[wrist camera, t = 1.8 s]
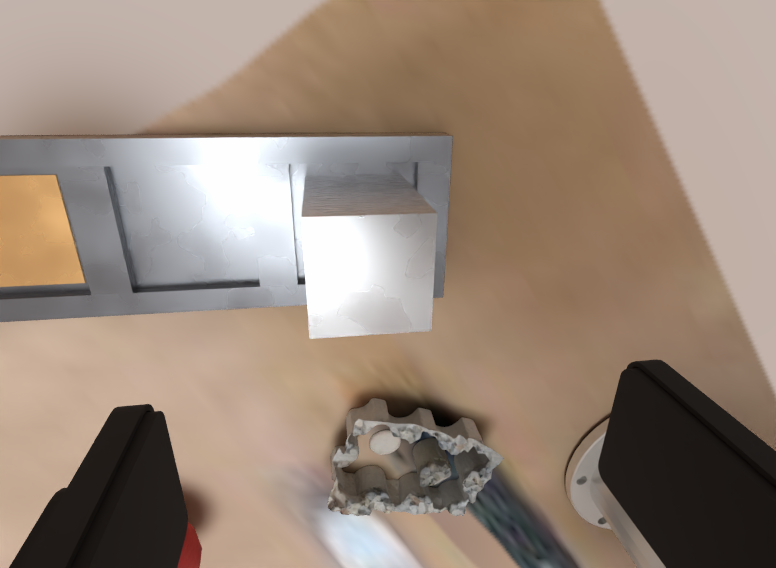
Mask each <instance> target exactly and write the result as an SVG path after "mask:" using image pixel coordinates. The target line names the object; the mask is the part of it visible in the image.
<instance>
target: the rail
mask: <svg viewBox="0 0 776 568" xmlns="http://www.w3.org/2000/svg"><path fill="white" fill-rule="evenodd" d="M452 142H453V136H452V135H449V134H447V133H314V134H164V135H25V136H24V135H21V136H19V135H18V136H0V322H10V321H28V320H46V319H64V318H82V317H100V316H118V315H135V314H153V313H171V312H189V311H207V310H225V309H243V308H261V307H279V306H297V305H307V295H306V280H305V266H304V251H303V236H302V222H301V214H302V204H303V194H304V183H305V176H343V175H396V174H401V175H402V176H403V177H404V178H405V179H406V180H407V181H408V182H409V183H410V185H411V186H412V187H413V188H414V189H415V190H416V191H417V192H418V193H419V194H420V195H421V196H422V197H423V198H424V199H425V201H426V202H427V203H428V204H429V205H430V206H431V207H432V208H433V209H434V210H435V211H436V212H437V230H436V250H435V270H434V289H433V298H440V297H443V291H444V274H445V258H446V241H447V225H448V208H449V192H450V175H451V158H452Z"/></svg>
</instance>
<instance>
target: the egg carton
mask: <svg viewBox="0 0 776 568" xmlns="http://www.w3.org/2000/svg"><path fill="white" fill-rule="evenodd" d="M380 424H384V425H387V426H389V427H390V430H381V431H378V432H377V433H375V434H373V435H372V437H371V438H370V441H369V444H370V449H371V450H372V451H373V452H375V453H377V454H381V455H386V454H389V453H392V452H394V451H395V450H396V449H398V447H399V446H400V442H401V441H400V438H403V439H406V440H407V441H409V444H411V443H413V442H415V441H417V440H418V439H420V437H421V433H422V432H423V431H425V432H428V434H429V435H430V436H435V433H436V436H435V437H436V439H435V438H427V439H424V440H421V441H419V442H418V443H417V444H416V445H415V446H414V448H413V457H414V461H415V465H416V469H414V470H412V471H411V473H408V474H405V475H404V476H402V477H401V478H400V479H399V480H395V479H386V477H385V473H384V471H383V470H382V469H381V468H380V467H378V466H374V465H370V466H365V467H362V468H361V469H359V470H358V471H357V472H356V473H347V472H344V471H342V467H346V466H349V465H350V464H351V463H352V462H353V461H355V460H356V458H357V457H358V454H359V447H358V440H357V435H359V434H361V435H365V434H366V433H367V432H368V431H369V430H371V429H372V428H373V427H374V426H376V425H380ZM346 428H347V440H346V444H345V445H344V446H335V447H334V449H333V452H332V454H331V472H332V480H334V481H335V484H334V486H333V489H332V491H331V492H330V496H329V499H328V503H327V505H328V508H329V509H330V510H331V511H333V512H335V511H340V513H341V514H345V515H349V514H354V515H356V516H359V515H370V513H371V511H372V510H373V509H374V510H378V511H382V512H384V513H388V514H389V513H390V512H392V511H397V512H407V513H410V514H413V515H416V514H428V513H432V512H436V513H440V512H442V511H443V510H446V509H447V510H448V511H449V513H451V514H452V515H455V516H458V515H462V516H463V515H464V513H465V507H466V504H467V503H468V502H471V503H472V504H473V503H474V502H475V499H476V494H477V492H479V491H481V489H483V486H484V484H485V483H486V482H487V481H488V480H489V479H491V474H492V469H493V468H495V467H496V466H497V465H499V464H500V462H501V461H502V460H503V459H504V458H503V457H502V456H501V455H499V454H498V453H497V452H495V451H494V450H492V449H491V448H489V447H487V446H485V445H484V443H483V441H482V438H481V436H480V434H479V432H478V430H477V427H476V425H475V423H474V421H473V420H472V419H468V418H463V417H462V418H460V419H459V420H458V421H457V422H456V423H455V424H453V425H451V426H449V427H440V426H437V425H435V422H434V419H433V416H432V413H431V411H430V410H427V409H423V408H417V409H416V410H415V411H414V412H413V413H412V414H411V415H409V416H407V417H403V418H396V417H393V416H391V415H390V414H388V410H387V405H386V401H385V400H382V399H377V398H372V399H371V400H370V401H369V403H368V404H366V405H365V406H363V407H360V408H355V409H351V410H350V411H349V413H348V415H347V417H346ZM445 450H447V451H448V452H450V454H452V455H455V456H454V464H455V467H456V470H457V472H458V475H459V477H458V479H456V480H449V481H445V482H444V483H442V484H441V483H440V482H441V481H443V480H445V479H446V478H449V477H450V476H451V466H450V463H449V461H448V458H447V455H446V453H445Z"/></svg>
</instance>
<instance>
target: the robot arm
mask: <svg viewBox="0 0 776 568" xmlns="http://www.w3.org/2000/svg"><path fill="white" fill-rule="evenodd" d="M565 487H566V492H567V496H568V498H569V500H570V502H571V503H572V505H573V507H574V509H575V510H576V511H577V513H578V514H579V515H580V517H582V518H583V519H584V520H586V521H587V522H588V523H590V524H592V525H595V526H597V527H601V528H606V529H612V530H613V532H614V534H615V535H616V537H617V538H618V540H619V541H620V543H621V544H622V546H623V547H624V549H625V550H626V552H627V553H628V555H629V556H630V558H631V559H632V561H633V562H634V564H635V565H636V567H637V568H776V451H775V450H773V449H772V448H771V447H770V446H768V445H767V444H766V443H765V442H763V441H762V440H761V439H760V438H758V437H757V436H756V435H755V434H753V433H752V432H751V431H750V430H748V429H747V428H746V427H745V426H744V425H742V424H741V423H740V422H739V421H737V420H736V419H735V418H734V417H732V416H731V415H730V414H729V413H727V412H726V411H725V410H724V409H722V408H721V407H720V406H719V405H717V404H716V403H715V402H714V401H712V400H711V399H710V398H709V397H707V396H706V395H705V394H704V393H702V392H701V391H700V390H699V389H697V388H696V387H695V386H694V385H692V384H691V383H690V382H689V381H687V380H686V379H685V378H684V377H682V376H681V375H680V374H679V373H677V372H676V371H675V370H674V369H673V368H671V367H670V366H669V365H668V364H666V363H665V362H663V361H661V360H647V361H635V362H632V363H630V364H629V365H628V367H627V369H626V370H624V371H623V372H622V373H621V376H620V380H619V384H618V387H617V391H616V395H615V399H614V403H613V407H612V411H611V415H610V418H608V419H606V420H605V421H604V422H603V423H601V424H600V425H599V426H597V427H596V428H595V429H594V430H593V431H592V432H591V433H590V434H589V435H588V436H587V437H586V438H585V439H584V440H583V441H582V443H581V444H580V445H579V447H578V448H577V449H576V451H575V453H574V455H573V457H572V459H571V461H570V463H569V465H568V469H567V473H566V482H565ZM187 526H188V515H187V509H186V505H185V501H184V497H183V492H182V488H181V484H180V480H179V475H178V471H177V467H176V463H175V458H174V454H173V450H172V446H171V441H170V437H169V433H168V428H167V424H166V420H165V416H164V414H163V412H162V411H156V412H154V409H153V407H152V406H151V405H149V404H145V405H133V406H122V407H116V408H114V409H113V411H112V412H111V414H110V415H109V417H108V419H107V421H106V422H105V424H104V426H103V427H102V429H101V431H100V433H99V434H98V436H97V438H96V439H95V441H94V443H93V445H92V446H91V448H90V450H89V451H88V453H87V455H86V457H85V458H84V460H83V462H82V463H81V465H80V467H79V469H78V470H77V472H76V474H75V475H74V477H73V479H72V481H71V482H70V484H69V486H68V487H67V488H62V489H61V490H59V491H58V492H56V493H55V495H54V496H53V497H52V499H51V500H50V501H49V503H48V504H47V506H46V508H45V509H44V511H43V513H42V514H41V516H40V518H39V519H38V521H37V523H36V524H35V526H34V527H33V529H32V531H31V532H30V534H29V536H28V537H27V539H26V541H25V542H24V544H23V546H22V547H21V549H20V551H19V552H18V554H17V555H16V557H15V559H14V560H13V562H12V564H11V565H10V567H9V568H177V567H178V563H179V560H180V556H181V552H182V548H183V544H184V541H185V537H186V533H187Z"/></svg>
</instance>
